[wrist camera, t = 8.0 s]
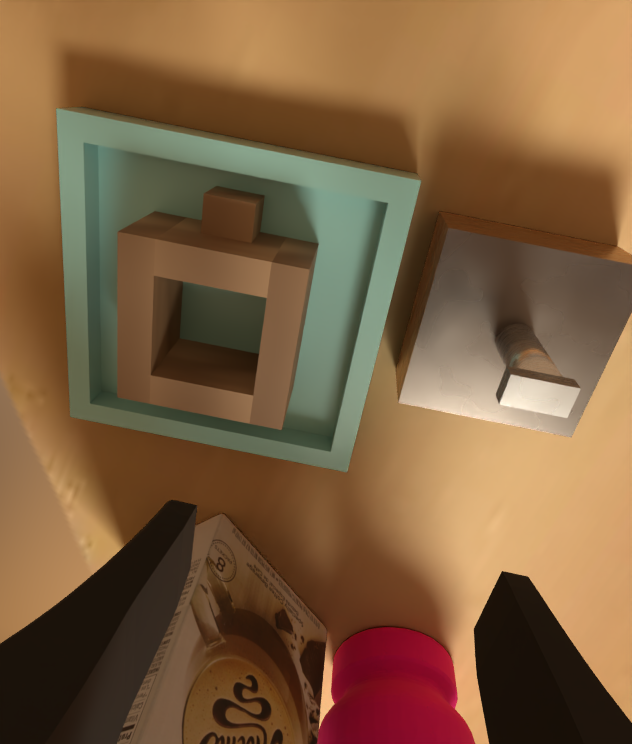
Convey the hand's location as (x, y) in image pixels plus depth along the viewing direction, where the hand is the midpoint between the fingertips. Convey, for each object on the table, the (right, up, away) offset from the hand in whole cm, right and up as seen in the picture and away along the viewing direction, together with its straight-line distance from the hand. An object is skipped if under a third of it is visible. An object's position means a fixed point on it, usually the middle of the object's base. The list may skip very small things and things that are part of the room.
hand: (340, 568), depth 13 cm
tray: (-4, +7, +7) cm, 11 cm away
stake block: (+6, +7, +7) cm, 11 cm away
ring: (-4, +7, +7) cm, 10 cm away
